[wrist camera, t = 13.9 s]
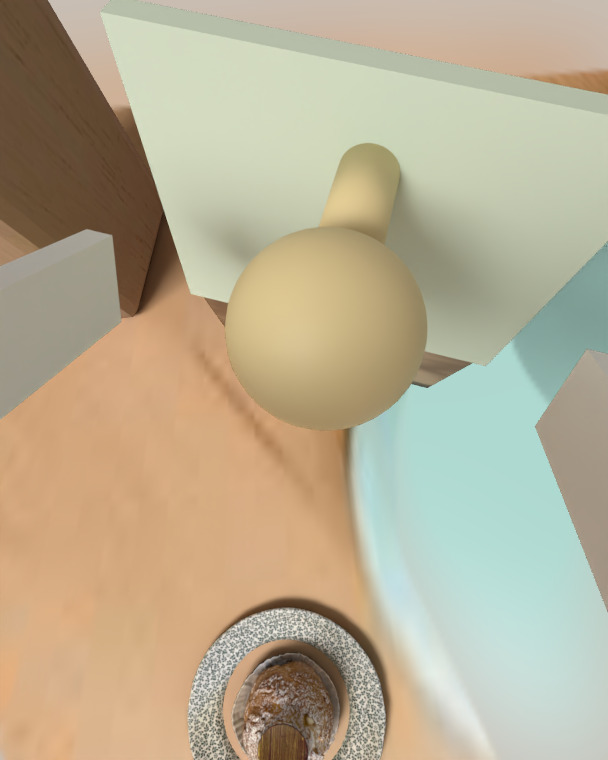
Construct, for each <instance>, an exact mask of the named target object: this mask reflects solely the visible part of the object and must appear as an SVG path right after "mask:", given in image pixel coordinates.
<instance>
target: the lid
mask: <svg viewBox="0 0 608 760" xmlns="http://www.w3.org/2000/svg"><path fill="white" fill-rule="evenodd" d="M100 13H101V16H102V19H103V23H104V26H105V29H106V32H107V35H108V38H109V41H110V44H111V48H112V51H113V54H114V57H115V60H116V63H117V66H118V69H119V72H120V75H121V79H122V82H123V85H124V88H125V91H126V94H127V97H128V100H129V104H130V107H131V110H132V113H133V116H134V119H135V122H136V125H137V128H138V131H139V135H140V138H141V141H142V144H143V147H144V150H145V153H146V156H147V159H148V163H149V166H150V169H151V172H152V175H153V178H154V181H155V184H156V187H157V191H158V194H159V197H160V200H161V203H162V206H163V209H164V212H165V215H166V219H167V222H168V225H169V228H170V231H171V234H172V237H173V240H174V243H175V246H176V250H177V253H178V256H179V259H180V262H181V265H182V268H183V271H184V274H185V278H186V281H187V284H188V287H189V290H190V293H191V294H193V295H197V296H202V297H206V298H210V299H214V300H218V301H222V302H226V303H228V307H227V313H226V320H225V339H226V346H227V352H228V356H229V359H230V362H231V365H232V368H233V370H234V372H235V374H236V376H237V378H238V380H239V382H240V383H241V385H242V386H243V388H244V389H245V391H246V392H247V393H248V395H249V396H250V397H251V398H252V399H253V400H254V401H255V402H256V403H257V404H258V405H259V406H260V407H261V408H263V409H264V410H265V411H267V412H268V413H270V414H271V415H273V416H274V417H276V418H278V419H280V420H282V421H284V422H286V423H289V424H291V425H294V426H298V427H301V428H306V429H311V430H319V431H329V430H341V429H346V428H350V427H354V426H357V425H360V424H363V423H365V422H367V421H370V420H372V419H374V418H376V417H377V416H379V415H380V414H382V413H383V412H385V411H386V410H388V409H389V408H390V407H391V406H392V405H393V404H395V403H396V402H397V401H398V400H399V399H400V397H401V396H402V395H403V394H404V393H405V391H406V390H407V389H408V388H409V386H410V385H411V383H412V381H413V380H414V378H415V376H416V374H417V372H418V370H419V368H420V365H421V363H422V360H423V356H424V352H425V351H426V352H430V353H434V354H438V355H442V356H446V357H451V358H455V359H459V360H463V361H467V362H471V363H475V364H479V365H483V366H486V365H487V364H488V363H489V362H490V361H491V360H492V359H493V358H494V357H495V356H496V355H497V354H498V353H499V352H500V351H501V350H502V349H503V348H504V347H505V346H506V345H507V344H508V343H509V342H510V341H511V340H512V339H513V338H514V337H515V336H516V335H517V334H518V333H519V332H520V331H521V330H522V329H523V328H524V327H525V325H526V324H527V323H528V322H529V321H530V320H531V319H532V318H533V317H534V316H535V315H536V314H537V313H538V312H539V311H540V310H541V309H542V308H543V307H544V306H545V305H546V304H547V303H548V302H549V301H550V300H551V299H552V298H553V297H554V296H555V295H556V294H557V293H558V292H559V291H560V290H561V289H562V288H563V287H564V286H565V285H566V284H567V282H568V281H569V280H570V279H571V278H572V277H573V276H574V275H575V274H576V273H577V272H578V271H579V270H580V269H581V268H582V267H583V266H584V265H585V264H586V263H587V262H588V261H589V260H590V259H591V258H592V257H593V256H594V255H595V254H596V253H597V252H598V251H599V250H600V249H601V248H602V247H603V246H604V245H605V244H606V243H607V242H608V95H606V94H601V93H596V92H591V91H586V90H581V89H576V88H571V87H566V86H561V85H557V84H552V83H547V82H542V81H537V80H532V79H527V78H522V77H517V76H512V75H507V74H502V73H497V72H492V71H487V70H481V69H477V68H471V67H467V66H462V65H456V64H452V63H446V62H442V61H437V60H432V59H427V58H421V57H417V56H412V55H406V54H402V53H397V52H392V51H386V50H382V49H377V48H372V47H366V46H361V45H357V44H352V43H346V42H341V41H337V40H332V39H327V38H322V37H317V36H312V35H307V34H302V33H297V32H292V31H287V30H282V29H277V28H272V27H267V26H262V25H257V24H252V23H247V22H242V21H237V20H232V19H227V18H222V17H217V16H212V15H207V14H202V13H197V12H192V11H187V10H182V9H177V8H172V7H167V6H162V5H157V4H152V3H147V2H142V1H137V0H110V1H109V3H108V4H107V5H106V6H105V7H104V8H103V9H102V10H101V12H100Z"/></svg>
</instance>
